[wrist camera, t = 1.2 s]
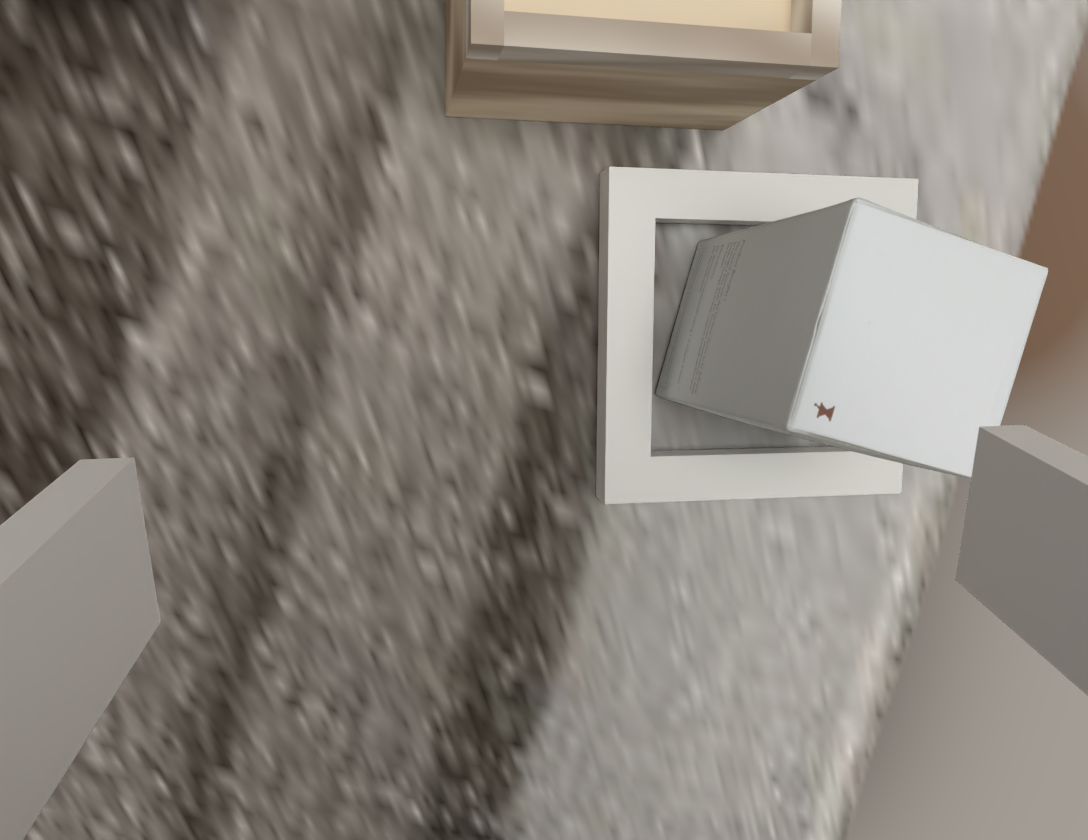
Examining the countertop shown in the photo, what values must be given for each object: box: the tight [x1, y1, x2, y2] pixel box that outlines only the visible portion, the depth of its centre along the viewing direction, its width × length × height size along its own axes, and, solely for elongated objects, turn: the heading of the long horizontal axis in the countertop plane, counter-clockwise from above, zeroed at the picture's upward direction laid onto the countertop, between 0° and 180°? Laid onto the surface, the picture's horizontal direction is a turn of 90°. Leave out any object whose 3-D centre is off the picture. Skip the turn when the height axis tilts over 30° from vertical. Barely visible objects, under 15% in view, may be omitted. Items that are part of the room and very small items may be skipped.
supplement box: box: [656, 198, 1048, 478], centre depth 32 cm, size 7×7×13 cm
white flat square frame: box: [596, 167, 918, 504], centre depth 38 cm, size 14×14×2 cm
